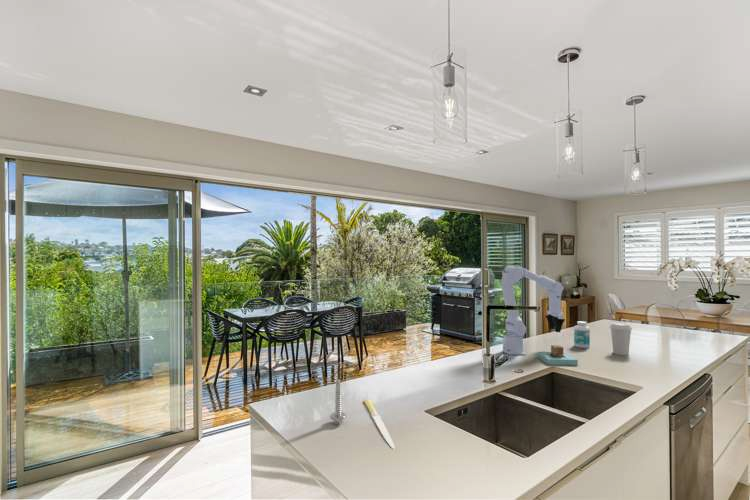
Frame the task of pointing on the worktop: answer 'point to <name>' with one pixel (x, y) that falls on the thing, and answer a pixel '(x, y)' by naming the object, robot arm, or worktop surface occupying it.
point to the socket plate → (557, 359)
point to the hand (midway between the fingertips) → (554, 330)
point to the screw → (338, 406)
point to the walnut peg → (556, 351)
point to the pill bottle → (582, 335)
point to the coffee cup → (621, 338)
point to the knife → (379, 422)
